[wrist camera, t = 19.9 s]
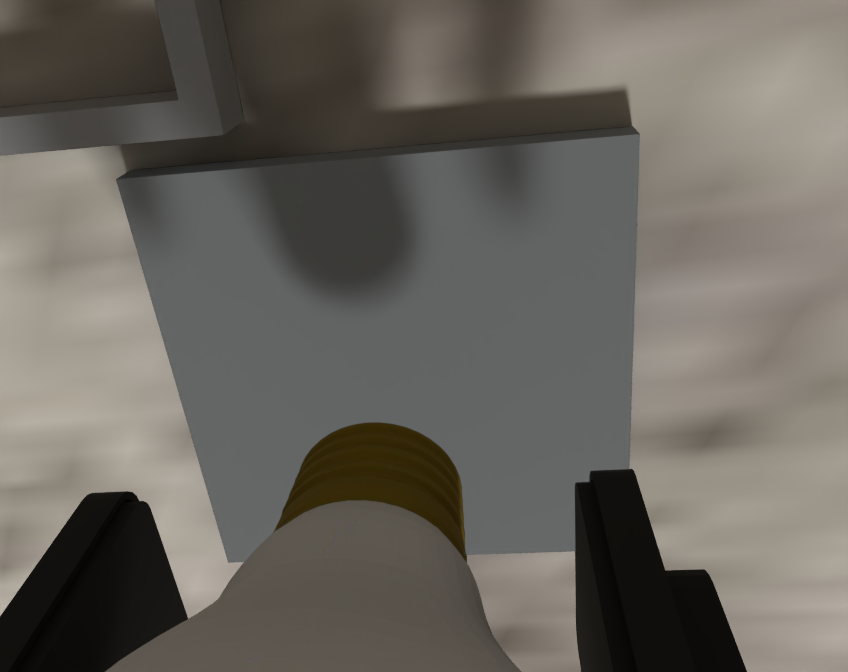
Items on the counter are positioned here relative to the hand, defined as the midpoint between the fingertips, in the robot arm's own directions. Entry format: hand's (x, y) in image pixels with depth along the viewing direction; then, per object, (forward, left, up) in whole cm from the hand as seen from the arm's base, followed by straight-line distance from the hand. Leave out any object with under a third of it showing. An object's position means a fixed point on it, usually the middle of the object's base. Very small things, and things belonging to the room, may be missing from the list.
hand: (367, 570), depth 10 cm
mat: (0, 0, -6) cm, 6 cm away
